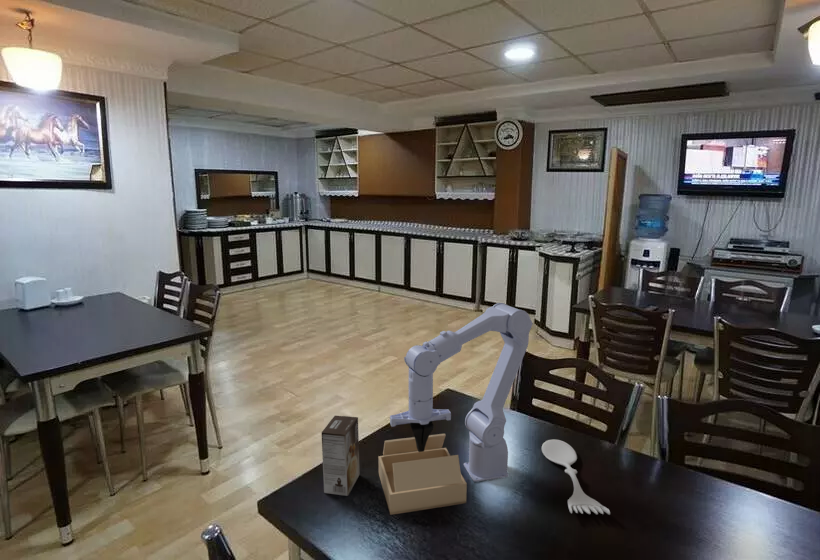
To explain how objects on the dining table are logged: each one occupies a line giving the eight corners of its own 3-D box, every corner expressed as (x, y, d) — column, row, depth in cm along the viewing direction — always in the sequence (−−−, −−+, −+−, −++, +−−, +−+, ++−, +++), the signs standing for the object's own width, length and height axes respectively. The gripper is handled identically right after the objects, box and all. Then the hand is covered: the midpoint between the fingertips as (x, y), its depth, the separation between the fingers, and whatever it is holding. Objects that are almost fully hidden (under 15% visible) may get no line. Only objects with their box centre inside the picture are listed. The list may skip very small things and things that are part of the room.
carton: (445, 465, 124) (445, 447, 123) (466, 503, 109) (466, 483, 108) (378, 474, 120) (378, 456, 119) (390, 514, 105) (390, 494, 104)
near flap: (395, 491, 105) (395, 492, 104) (392, 463, 107) (392, 463, 106) (461, 482, 108) (461, 482, 108) (457, 454, 110) (458, 454, 110)
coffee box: (336, 471, 121) (334, 414, 119) (360, 474, 120) (358, 416, 117) (323, 493, 113) (320, 431, 110) (348, 497, 111) (346, 434, 108)
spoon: (569, 523, 103) (570, 509, 102) (537, 446, 134) (538, 435, 133) (611, 525, 102) (612, 511, 101) (569, 447, 134) (570, 436, 133)
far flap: (441, 447, 123) (441, 446, 123) (445, 435, 119) (445, 433, 119) (383, 455, 119) (383, 453, 120) (385, 442, 116) (384, 440, 116)
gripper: (393, 407, 105) (394, 462, 107) (455, 400, 108) (454, 454, 111) (388, 394, 112) (388, 446, 114) (446, 388, 115) (445, 439, 117)
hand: (420, 449), depth 113 cm, fingers closed
